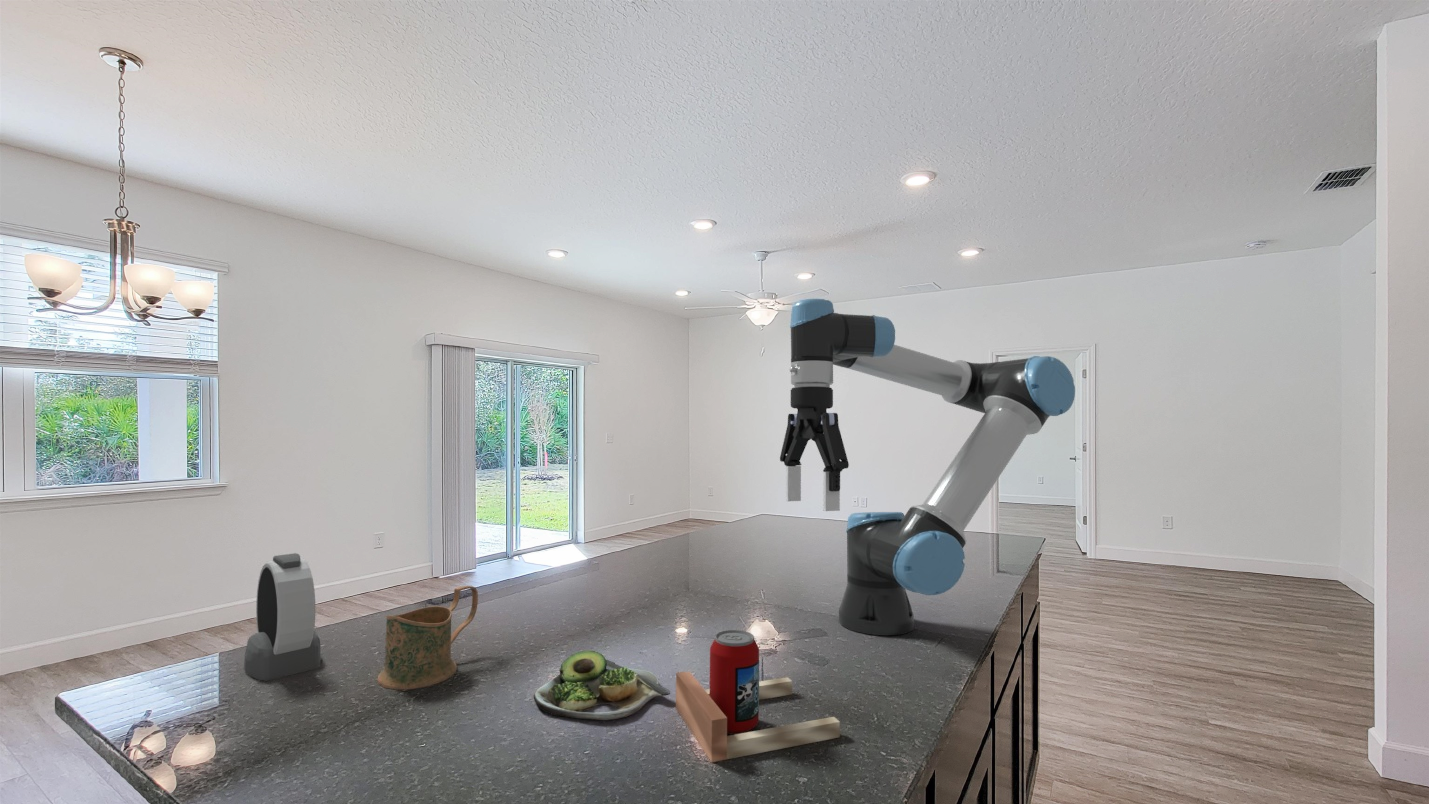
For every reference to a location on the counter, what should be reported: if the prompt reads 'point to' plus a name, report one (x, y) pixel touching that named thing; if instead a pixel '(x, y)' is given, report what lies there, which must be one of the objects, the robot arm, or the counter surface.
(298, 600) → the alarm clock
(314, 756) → the counter surface
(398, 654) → the mug
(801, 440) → the robot arm
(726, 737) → the guide channel
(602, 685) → the avocado toast plate
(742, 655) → the beverage can
